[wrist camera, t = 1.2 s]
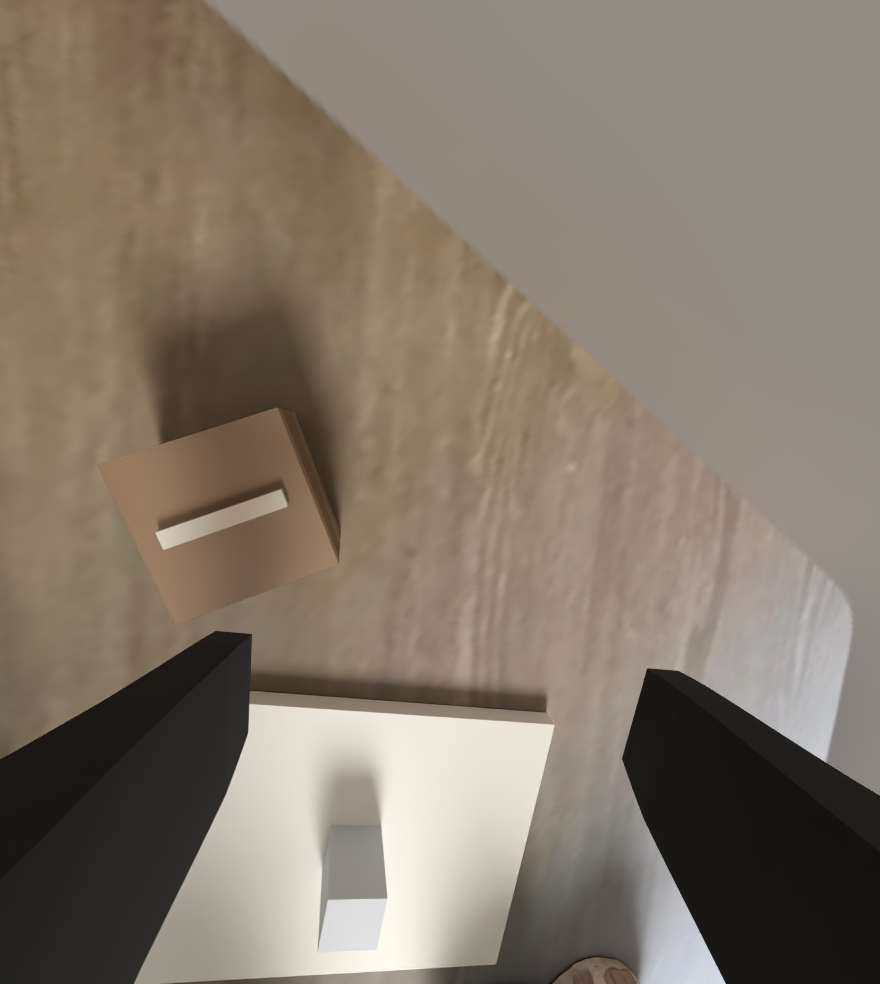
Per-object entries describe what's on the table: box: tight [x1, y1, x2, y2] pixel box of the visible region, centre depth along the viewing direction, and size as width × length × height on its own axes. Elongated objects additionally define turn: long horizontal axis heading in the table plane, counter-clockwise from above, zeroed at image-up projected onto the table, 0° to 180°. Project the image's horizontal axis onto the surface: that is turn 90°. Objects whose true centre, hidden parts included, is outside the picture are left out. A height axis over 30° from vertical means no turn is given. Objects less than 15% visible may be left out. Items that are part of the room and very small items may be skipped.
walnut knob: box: [97, 407, 341, 625], centre depth 17 cm, size 6×6×5 cm
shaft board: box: [134, 691, 555, 984], centre depth 21 cm, size 18×14×4 cm
